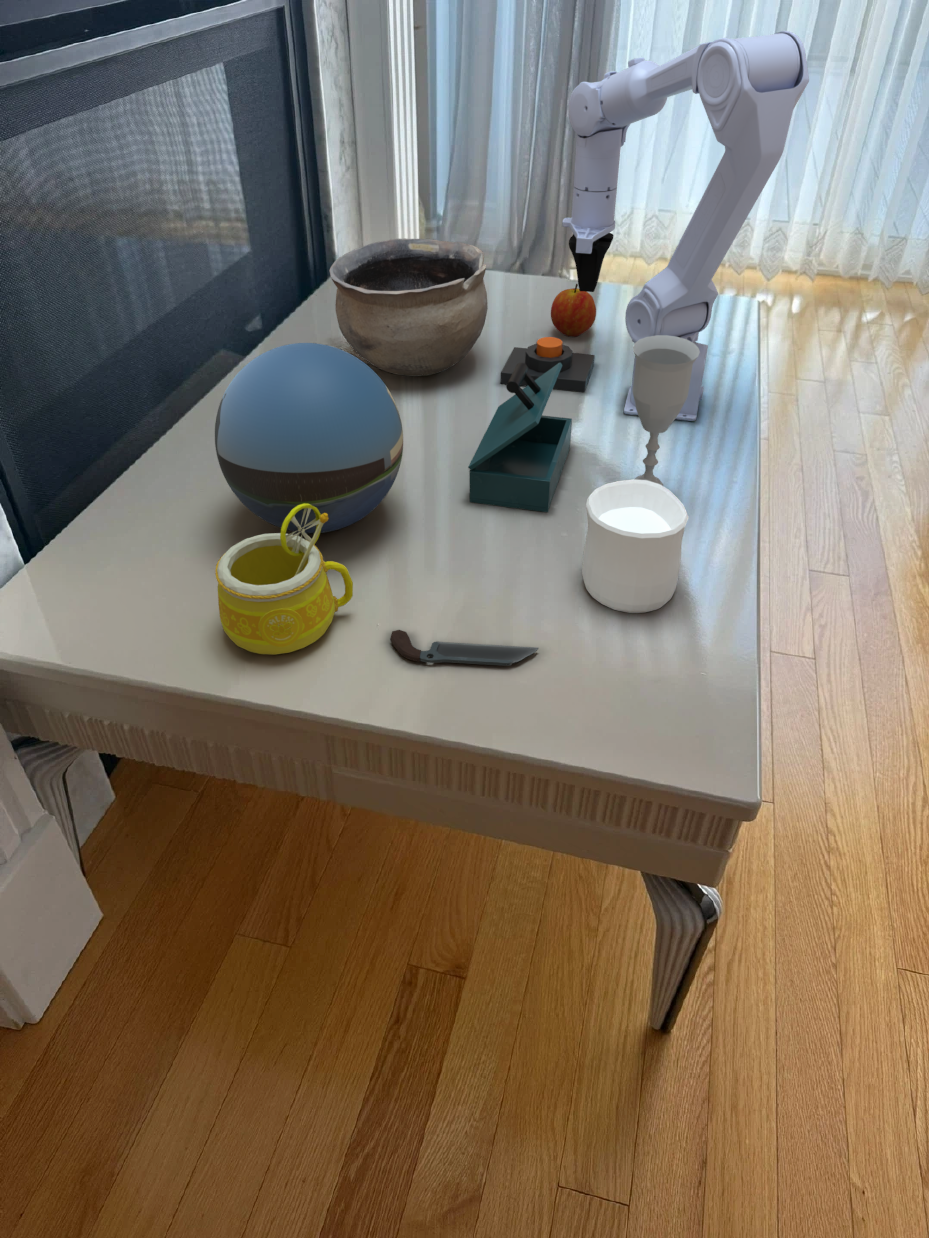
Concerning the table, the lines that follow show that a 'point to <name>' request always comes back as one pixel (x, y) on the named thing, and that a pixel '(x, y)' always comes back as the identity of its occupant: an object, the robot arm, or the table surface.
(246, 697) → the table surface
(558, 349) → the switch button
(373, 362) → the ceramic bowl
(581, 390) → the switch base
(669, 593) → the cup
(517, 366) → the teal panel with handle
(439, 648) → the knife
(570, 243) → the robot arm
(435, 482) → the table surface
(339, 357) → the decorative sphere
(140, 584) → the table surface
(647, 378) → the chalice
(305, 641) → the mug
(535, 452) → the open box
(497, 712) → the table surface
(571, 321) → the fruit
